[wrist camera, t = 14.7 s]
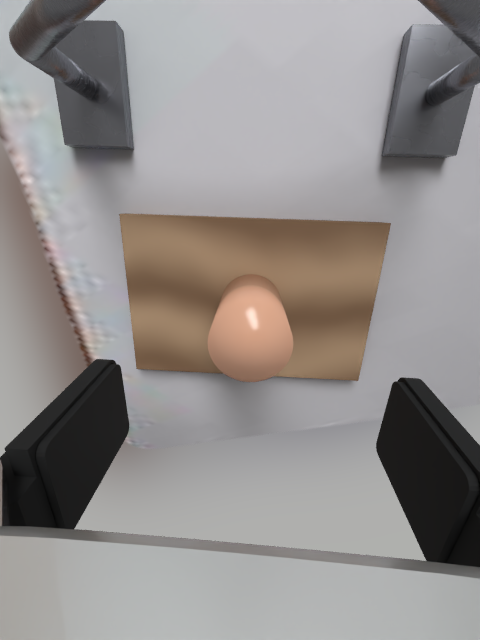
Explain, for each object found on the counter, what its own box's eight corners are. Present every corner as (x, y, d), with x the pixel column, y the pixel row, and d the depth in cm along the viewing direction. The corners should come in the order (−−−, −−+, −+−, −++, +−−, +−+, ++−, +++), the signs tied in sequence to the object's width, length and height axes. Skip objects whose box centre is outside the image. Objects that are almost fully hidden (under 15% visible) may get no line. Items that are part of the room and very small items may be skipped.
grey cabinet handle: (55, 30, 17) (-281, -265, 6) (477, 35, 16) (907, -294, 6) (73, 147, 19) (-155, 75, 9) (446, 157, 19) (711, 91, 8)
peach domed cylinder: (221, 272, 21) (207, 301, 14) (283, 275, 21) (297, 306, 14) (220, 329, 22) (207, 379, 16) (278, 332, 22) (288, 384, 16)
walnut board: (125, 213, 21) (119, 213, 20) (384, 222, 20) (390, 223, 19) (141, 362, 25) (136, 368, 24) (354, 373, 24) (358, 380, 24)
